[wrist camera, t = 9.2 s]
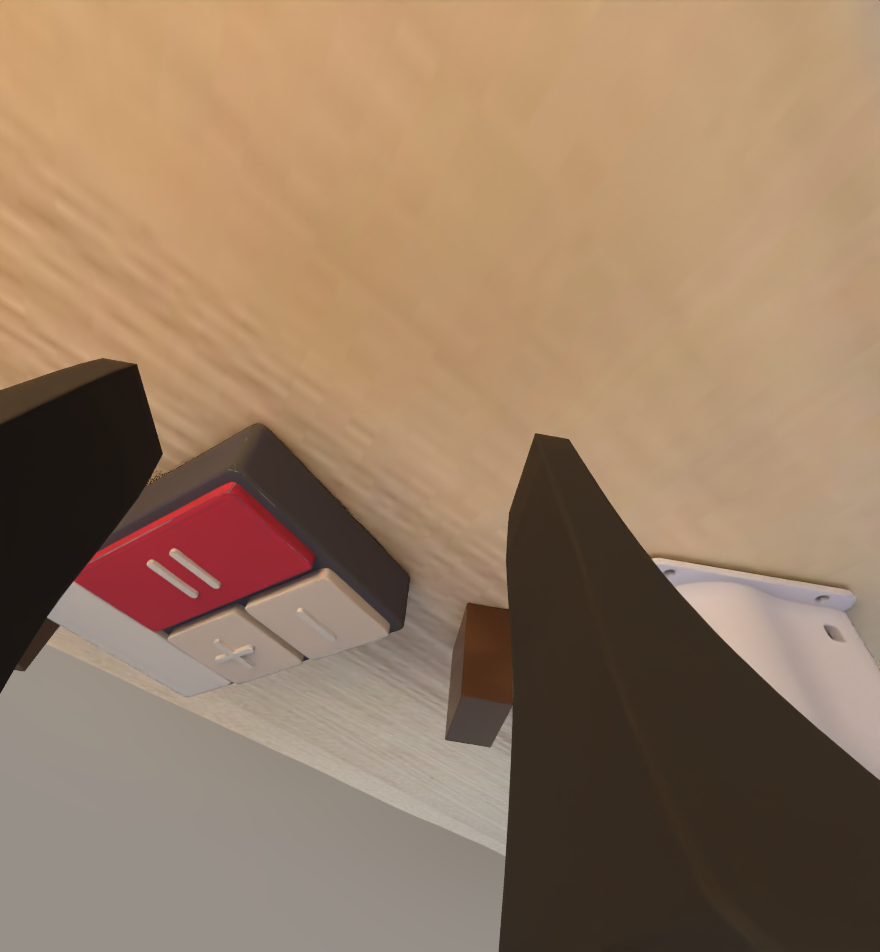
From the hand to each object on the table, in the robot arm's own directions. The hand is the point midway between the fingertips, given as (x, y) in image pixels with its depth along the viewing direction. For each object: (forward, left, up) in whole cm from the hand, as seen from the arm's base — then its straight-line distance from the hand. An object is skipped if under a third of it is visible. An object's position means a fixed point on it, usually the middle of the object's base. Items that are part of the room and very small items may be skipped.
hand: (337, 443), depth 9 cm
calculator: (+7, +15, -9) cm, 19 cm away
